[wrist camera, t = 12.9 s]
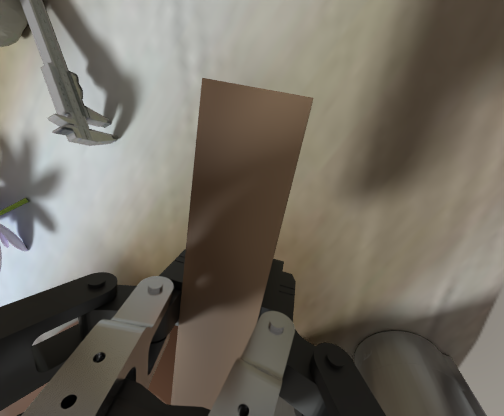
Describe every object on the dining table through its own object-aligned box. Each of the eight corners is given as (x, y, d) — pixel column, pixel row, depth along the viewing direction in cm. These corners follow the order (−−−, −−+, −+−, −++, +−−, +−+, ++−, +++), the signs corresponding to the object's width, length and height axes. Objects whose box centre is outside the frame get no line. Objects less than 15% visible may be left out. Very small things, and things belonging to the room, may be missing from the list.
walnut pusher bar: (310, 109, 11) (313, 98, 6) (247, 359, 16) (224, 450, 12) (245, 97, 11) (202, 77, 6) (206, 345, 17) (168, 428, 12)
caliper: (121, 139, 27) (69, 144, 21) (114, 143, 27) (61, 148, 21) (11, -79, 22) (-96, -152, 16) (4, -71, 23) (-103, -140, 17)
